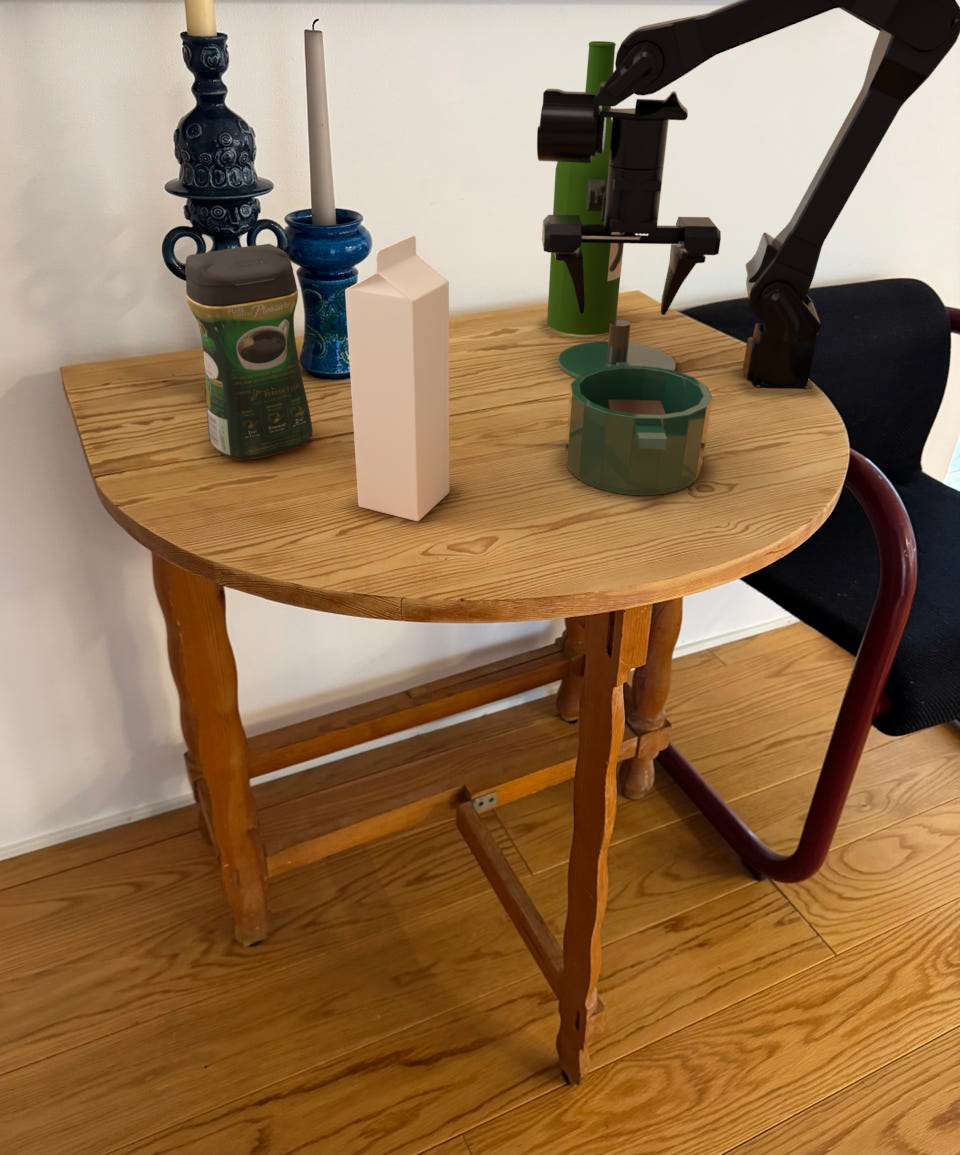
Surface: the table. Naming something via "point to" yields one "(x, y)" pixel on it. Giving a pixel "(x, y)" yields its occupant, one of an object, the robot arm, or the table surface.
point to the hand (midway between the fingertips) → (622, 313)
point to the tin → (637, 430)
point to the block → (637, 406)
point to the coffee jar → (249, 350)
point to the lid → (612, 353)
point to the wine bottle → (571, 200)
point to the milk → (400, 383)
